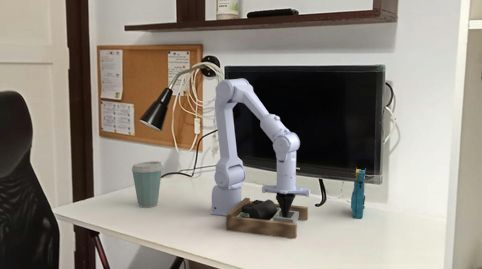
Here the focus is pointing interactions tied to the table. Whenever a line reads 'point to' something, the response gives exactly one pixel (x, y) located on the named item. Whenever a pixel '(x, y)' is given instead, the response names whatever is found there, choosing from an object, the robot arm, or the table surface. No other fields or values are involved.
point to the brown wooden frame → (263, 222)
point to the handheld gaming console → (358, 195)
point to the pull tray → (280, 216)
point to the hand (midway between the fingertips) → (285, 217)
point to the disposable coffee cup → (147, 182)
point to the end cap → (260, 210)
